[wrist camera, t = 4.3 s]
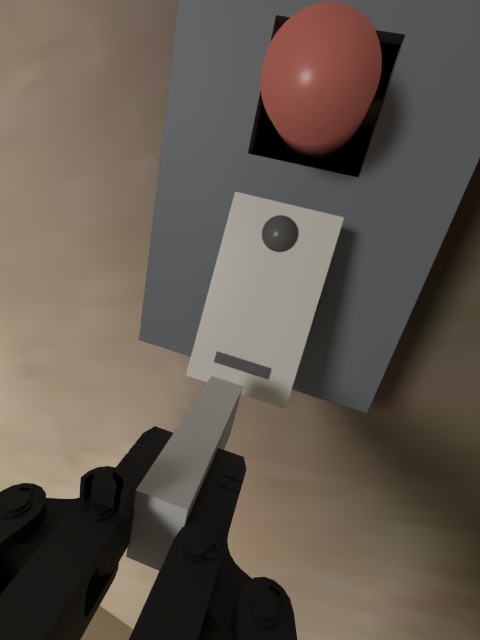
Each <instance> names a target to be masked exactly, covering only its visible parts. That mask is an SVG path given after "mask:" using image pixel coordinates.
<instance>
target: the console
mask: <svg viewBox="0 0 480 640" xmlns="http://www.w3.org/2000/svg"><path fill="white" fill-rule="evenodd" d="M328 1H331V2H340V3H345V4H347V5H350V6H352V7H354V8H356V9H357V10H359V11H360V12H361V13H362V14H363V15H365V16H366V17H367V19H368V20H369V21H370V23H371V24H372V26H373V27H374V29H375V31H376V33H377V36H378V39H379V42H384V43H390V44H396V45H400V48H399V51H398V54H397V58H396V61H395V64H394V67H393V70H392V73H391V76H390V79H389V82H388V85H387V88H386V91H385V95H384V98H383V101H382V104H381V107H380V110H379V113H378V116H377V119H376V122H375V125H374V128H373V132H372V135H371V138H370V141H369V144H368V147H367V150H366V153H365V156H364V159H363V162H362V166H361V169H360V172H359V175H358V177H354V176H349V175H344V174H340V173H335V172H331V171H326V170H321V169H317V168H312V167H308V166H303V165H298V164H294V163H289V162H285V161H280V160H276V159H271V158H266V157H262V156H257V155H253V154H252V151H253V146H254V141H255V137H256V132H257V127H258V122H259V117H260V113H261V108H262V103H263V100H262V95H261V85H260V82H261V70H262V64H263V61H264V57H265V54H266V51H267V49H268V47H269V45H270V43H271V41H272V39H273V37H274V36H275V34H276V33H277V31H278V27H279V26H280V27H281V26H282V25H283V24H284V23H285V22H286V21H287V20H288V19H289V18H290V17H292V16H293V15H294V14H295V13H297V12H298V11H300V10H302V9H303V8H305V7H308V6H310V5H312V4H316V3H320V2H328ZM479 158H480V0H179V4H178V12H177V21H176V29H175V38H174V46H173V55H172V63H171V72H170V80H169V89H168V97H167V106H166V114H165V123H164V131H163V140H162V148H161V157H160V165H159V174H158V183H157V191H156V200H155V208H154V217H153V225H152V234H151V242H150V251H149V259H148V268H147V276H146V285H145V293H144V302H143V310H142V319H141V327H140V336H139V340H141V341H144V342H147V343H150V344H153V345H157V346H160V347H163V348H166V349H169V350H172V351H175V352H178V353H181V354H184V355H187V356H191V354H192V351H193V347H194V343H195V340H196V336H197V332H198V328H199V325H200V321H201V317H202V313H203V310H204V306H205V302H206V298H207V295H208V291H209V287H210V283H211V280H212V276H213V272H214V268H215V265H216V261H217V257H218V253H219V250H220V246H221V242H222V239H223V235H224V231H225V227H226V224H227V220H228V216H229V212H230V209H231V205H232V201H233V197H234V194H235V192H239V193H243V194H248V195H252V196H256V197H260V198H265V199H269V200H273V201H277V202H281V203H286V204H290V205H294V206H298V207H302V208H307V209H311V210H315V211H319V212H324V213H328V214H332V215H336V216H340V217H344V220H343V223H342V226H341V230H340V233H339V236H338V239H337V243H336V246H335V249H334V252H333V256H332V259H331V262H330V266H329V269H328V272H327V275H326V279H325V282H324V285H323V288H322V292H321V295H320V298H319V301H318V305H317V308H316V311H315V315H314V318H313V321H312V324H311V328H310V331H309V334H308V337H307V341H306V344H305V347H304V350H303V354H302V357H301V360H300V364H299V367H298V370H297V373H296V377H295V380H294V383H293V386H292V389H293V390H296V391H299V392H302V393H305V394H308V395H311V396H314V397H317V398H321V399H324V400H327V401H330V402H333V403H336V404H339V405H342V406H345V407H348V408H351V409H355V410H358V411H361V412H364V413H367V412H368V410H369V407H370V405H371V403H372V400H373V398H374V396H375V394H376V391H377V389H378V387H379V385H380V382H381V380H382V378H383V376H384V373H385V371H386V369H387V366H388V364H389V362H390V360H391V357H392V355H393V353H394V351H395V348H396V346H397V344H398V342H399V339H400V337H401V335H402V333H403V330H404V328H405V326H406V323H407V321H408V319H409V317H410V314H411V312H412V310H413V308H414V305H415V303H416V301H417V299H418V296H419V294H420V292H421V289H422V287H423V285H424V283H425V280H426V278H427V276H428V274H429V271H430V269H431V267H432V265H433V262H434V260H435V258H436V256H437V253H438V251H439V249H440V246H441V244H442V242H443V240H444V237H445V235H446V233H447V231H448V228H449V226H450V224H451V222H452V219H453V217H454V215H455V213H456V210H457V208H458V206H459V203H460V201H461V199H462V197H463V194H464V192H465V190H466V188H467V185H468V183H469V181H470V179H471V176H472V174H473V172H474V169H475V167H476V165H477V163H478V160H479Z"/></svg>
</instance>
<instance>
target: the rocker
mask: <svg viewBox="0 0 480 640" xmlns="http://www.w3.org/2000/svg"><path fill="white" fill-rule="evenodd" d="M343 220H344V217H340V216H336V215H332V214H328V213H324V212H319V211H315V210H311V209H307V208H302V207H298V206H294V205H290V204H286V203H281V202H277V201H273V200H269V199H265V198H260V197H256V196H252V195H248V194H243V193H239V192H235V194H234V197H233V201H232V205H231V209H230V212H229V216H228V220H227V224H226V227H225V231H224V235H223V239H222V242H221V246H220V250H219V253H218V257H217V261H216V265H215V268H214V272H213V276H212V280H211V283H210V287H209V291H208V295H207V298H206V302H205V306H204V310H203V313H202V317H201V321H200V325H199V328H198V332H197V336H196V340H195V343H194V347H193V351H192V354H191V358H190V362H189V366H188V369H187V373H186V376H189V377H192V378H195V379H198V380H201V381H204V382H208V380H209V379H210V377H211V376H213V377H216V378H220V379H223V380H226V381H229V382H232V383H235V384H238V385H241V386H243V387H242V391H241V394H243V395H246V396H249V397H252V398H255V399H258V400H261V401H264V402H267V403H270V404H273V405H276V406H279V407H282V408H285V409H286V406H287V403H288V400H289V396H290V393H291V390H292V386H293V383H294V380H295V377H296V373H297V370H298V367H299V364H300V360H301V357H302V354H303V350H304V347H305V344H306V341H307V337H308V334H309V331H310V328H311V324H312V321H313V318H314V315H315V311H316V308H317V305H318V301H319V298H320V295H321V292H322V288H323V285H324V282H325V279H326V275H327V272H328V269H329V266H330V262H331V259H332V256H333V252H334V249H335V246H336V243H337V239H338V236H339V233H340V230H341V226H342V223H343Z"/></svg>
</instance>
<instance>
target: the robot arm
mask: <svg viewBox="0 0 480 640" xmlns="http://www.w3.org/2000/svg"><path fill="white" fill-rule="evenodd" d="M242 387H243V386H241V385H238V384H235V383H232V382H229V381H226V380H223V379H220V378H216V377H213V376H211V377H210V379H209V380H208V382H207V383H206V385H205V386H204V388H203V389H202V391H201V392H200V394H199V395H198V397H197V398H196V400H195V402H194V403H193V405H192V406H191V408H190V409H189V411H188V412H187V414H186V415H185V417H184V418H183V420H182V421H181V423H180V424H179V426H178V427H177V429H176V430H175V432H174V433H172V432H169V431H167V430H164V429H161V428H158V427H153V428H151V429H150V430H148V431H146V432H144V433H143V434H142V435H141V437H140V438H139V439H138V440H137V442H136V443H135V445H133V447H132V448H131V449H130V450H129V452H128V454H126V455H125V457H124V458H123V459H122V460H121V462H120V463H119V464H118V465H117V467H116V468H115V467H110V466H105V467H98V468H95V469H93V470H90V471H88V472H87V473H86V474H85V475H83V476H82V477H81V484H80V498H76V499H55V498H46V493H45V492H44V490H43V489H42V487H40V486H38V485H35V484H29V483H22V484H18V485H13V486H11V487H9V488H7V489H5V490H3V491H1V492H0V640H80V639H81V637H82V636H83V634H84V632H85V630H86V628H87V627H88V625H89V623H90V621H91V620H92V617H93V616H94V614H95V612H96V611H97V609H98V607H99V605H100V603H101V602H102V600H103V598H104V596H105V594H106V593H107V591H108V589H109V587H110V585H111V584H112V582H113V580H114V578H115V576H116V573H117V570H118V565H119V561H120V559H121V557H122V556H123V554H124V552H125V550H126V549H127V547H128V549H127V556H126V557H128V558H131V559H133V560H135V561H138V562H140V563H142V564H145V565H147V566H150V567H152V568H154V569H157V570H159V571H160V572H159V574H158V576H157V578H156V580H155V583H154V585H153V587H152V589H151V592H150V594H149V596H148V598H147V601H146V603H145V605H144V607H143V609H142V612H141V614H140V616H139V618H138V621H137V623H136V625H135V627H134V630H133V632H132V634H131V636H130V638H129V640H297V634H296V627H295V619H294V612H293V608H292V605H291V601H290V598H289V597H288V595H287V594H286V592H285V590H284V589H283V588H282V587H281V586H280V585H279V584H278V583H276V582H275V581H274V580H271V579H269V578H266V577H257V578H253V579H252V578H251V577H249V576H248V575H247V574H246V573H245V572H244V571H243V570H241V569H240V568H239V567H238V565H237V564H236V563H235V562H234V560H233V559H232V557H231V555H230V552H229V549H228V543H227V538H228V532H229V528H230V525H231V521H232V518H233V514H234V511H235V507H236V504H237V500H238V497H239V493H240V490H241V486H242V483H243V479H244V476H245V472H246V466H245V461H244V457H242V456H239V455H236V454H234V453H231V452H228V451H225V450H224V448H225V446H226V443H227V441H228V438H229V436H230V433H231V429H232V425H233V421H234V418H235V414H236V410H237V406H238V402H239V399H240V395H241V391H242Z"/></svg>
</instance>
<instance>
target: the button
mask: <svg viewBox="0 0 480 640" xmlns="http://www.w3.org/2000/svg"><path fill="white" fill-rule="evenodd" d="M381 68H382V54H381V47H380V42H379V39H378V36H377V33H376V31H375V29H374V27H373V26H372V24H371V23H370V21H369V20H368V19H367V17H366V16H365V15H363V14H362V13H361V12H360V11H359V10H357V9H356V8H354V7H352V6H350V5H347V4H345V3H340V2H331V1H328V2H320V3H316V4H312V5H310V6H308V7H305V8H303V9H302V10H300V11H298V12H297V13H295V14H294V15H293V16H292V17H290V18H289V19H288V20H287V21H286V22H285V23H284V24H283V25H282V26H281V28H280V29H279V30H278V31H277V33H276V34H275V36H274V37H273V39H272V41H271V43H270V45H269V47H268V49H267V51H266V54H265V57H264V61H263V64H262V70H261V82H260V85H261V95H262V100H263V104H264V107H265V109H266V112H267V114H268V116H269V118H270V119H271V121H272V123H273V125H274V127H275V128H276V130H277V132H278V134H279V136H280V137H281V139H282V141H283V142H284V143H285V145H286V146H287V147H288V148H289V149H290V150H292V151H293V152H295V153H296V154H298V155H301V156H304V157H308V158H321V157H326V156H329V155H332V154H334V153H336V152H338V151H339V150H341V149H342V148H343V147H345V146H346V145H347V144H348V143H349V142H350V141H351V140H352V139H353V137H354V136H355V135H356V133H357V132H358V130H359V128H360V126H361V124H362V122H363V120H364V118H365V116H366V113H367V111H368V109H369V107H370V104H371V102H372V100H373V98H374V95H375V93H376V90H377V87H378V84H379V80H380V76H381Z"/></svg>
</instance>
